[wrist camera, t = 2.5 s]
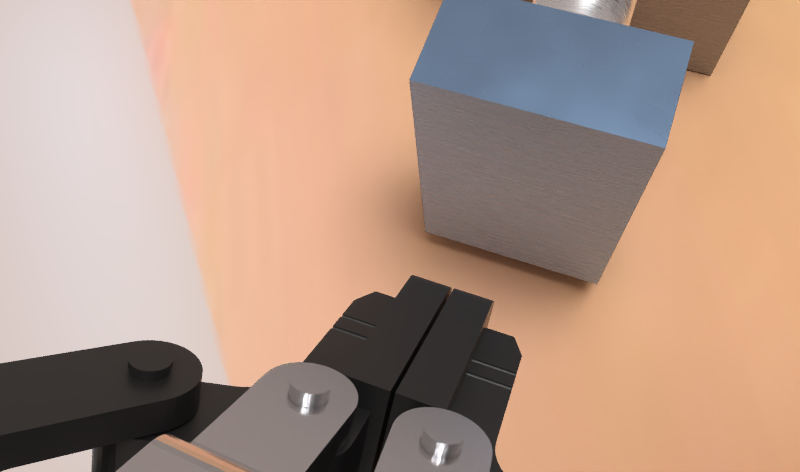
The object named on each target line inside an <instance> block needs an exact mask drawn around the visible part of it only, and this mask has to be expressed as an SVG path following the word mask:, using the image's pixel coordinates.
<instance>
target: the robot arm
mask: <svg viewBox="0 0 800 472" xmlns="http://www.w3.org/2000/svg"><path fill="white" fill-rule="evenodd" d="M451 290H452V288H451V287H448V286H445V285H442V284H439V283H435V282H432V281H429V280H426V279H423V278H420V277H417V276H414V275H412V276H411V277H410V278H409V280H408V281H407V282H406V284H405V285H404V287H403V288H402V289H401V291H400V292H399V294H398V295H397V296H396V298H394V297H391V296H388V295H385V294H382V293H379V292H373V293H371V294H368V295H366V296H363V297H361V298H358V299H356V300H354V301H353V303H352V304H351V305H350V306H349V307H348V309H347V310H346V311H345V312H344V313H343V316H342V317H340V318H339V319H338V321H337V322H336V323H335V324H334V325H333V328H332V329H330V330H329V331H328V333H327V334H326V335H325V336H324V337H323V339H322V340H321V341H320V342H319V343H318V345H317V346H316V347H315V348H314V349H313V351H312V352H311V353H310V354H309V356H308V357H307V358H306V359H305V360H304V362H296V363H288V364H283V365H280V366H277V367H275V368H273V369H271V370H270V371H268V372H267V373H266V374H265V375H264V376H262V377H261V378H260V379H259V380H258V381H257V382H256V383H255V384H254V385H253V386H252V387H235V386H228V385H220V384H213V383H205V382H201V379H202V371H203V369H202V365H201V362H200V361H199V359H198V358H197V357H196V356H195V355H194V354H193V353H192V352H191V351H189V350H187V349H186V348H184V347H181V346H179V345H176V344H173V343H169V342H163V341H153V340H151V341H149V340H148V341H147V340H146V341H135V342H129V343H122V344H116V345H110V346H104V347H99V348H93V349H87V350H80V351H74V352H68V353H62V354H56V355H49V356H43V357H37V358H31V359H25V360H20V361H13V362H8V363H1V364H0V472H1V471H3V470H6V469H10V468H14V467H18V466H22V465H26V464H30V463H35V462H39V461H43V460H47V459H51V458H55V457H60V456H64V455H68V454H72V453H76V452H80V451H84V450H89V449H93V451H92V454H93V455H92V472H503V471H502V470H501V468H500V466H499V464H498V462H497V459H496V455H495V445H496V440H497V437H498V434H499V430H500V427H501V424H502V420H503V417H504V414H505V410H506V407H507V404H508V400H509V397H510V394H511V390H512V387H513V384H514V380H515V377H516V374H517V370H518V367H519V364H520V360H521V357H522V355H521V353H520V350H519V348H518V345H517V343H516V340H515V338H514V337H512V336H509V335H506V334H503V333H500V332H497V331H494V330H491V329H488V328H487V326H488V322H489V319H490V315H491V312H492V308H493V303H494V301H492V300H489V299H485V298H482V297H479V296H476V295H473V294H470V293H467V292H464V291H461V290H458V289H453V291H452V293H451Z"/></svg>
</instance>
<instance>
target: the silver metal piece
mask: <svg viewBox="0 0 800 472" xmlns="http://www.w3.org/2000/svg"><path fill="white" fill-rule="evenodd" d="M636 2H637V0H533V2H532V3H530V2H526V1H522V0H443V2H442V5H441V7H440V9H439V12H438V14H437V16H436V19H435V21H434V23H433V26H432V28H431V31H430V33H429V35H428V38H427V40H426V42H425V45H424V47H423V49H422V52H421V54H420V56H419V59H418V61H417V63H416V66H415V68H414V70H413V73H412V75H411V77H410V90H411V99H412V109H413V118H414V128H415V137H416V147H417V156H418V166H419V175H420V185H421V194H422V204H423V213H424V223H425V232H428V233H431V234H435V235H438V236H441V237H444V238H448V239H451V240H454V241H457V242H461V243H464V244H467V245H470V246H474V247H477V248H480V249H483V250H487V251H490V252H493V253H496V254H500V255H503V256H506V257H509V258H513V259H516V260H519V261H522V262H526V263H529V264H532V265H535V266H539V267H542V268H545V269H548V270H552V271H555V272H558V273H561V274H565V275H568V276H571V277H574V278H577V279H581V280H584V281H587V282H590V283H594V284H597V283H598V281H599V279H600V277H601V275H602V273H603V271H604V269H605V267H606V265H607V263H608V261H609V259H610V257H611V255H612V253H613V251H614V249H615V247H616V245H617V243H618V241H619V239H620V238H621V236H622V234H623V232H624V230H625V228H626V226H627V224H628V222H629V220H630V218H631V216H632V214H633V212H634V210H635V208H636V206H637V204H638V202H639V200H640V198H641V196H642V194H643V192H644V190H645V188H646V186H647V184H648V182H649V180H650V178H651V176H652V174H653V172H654V170H655V168H656V166H657V164H658V162H659V160H660V158H661V156H662V154H663V152H664V150H665V148H666V144H667V140H668V137H669V133H670V129H671V126H672V122H673V118H674V114H675V111H676V107H677V103H678V100H679V96H680V92H681V88H682V85H683V81H684V77H685V73H686V70H687V66H688V62H689V59H690V55H691V51H692V47H693V44H694V41H690V40H686V39H682V38H678V37H674V36H669V35H665V34H661V33H657V32H652V31H648V30H644V29H640V28H636V27H631V26H629V25H630V22H631V18H632V15H633V12H634V9H635V5H636Z"/></svg>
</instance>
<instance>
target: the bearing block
mask: <svg viewBox="0 0 800 472" xmlns="http://www.w3.org/2000/svg"><path fill="white" fill-rule="evenodd" d="M522 1H526V2H530V3H532V2H533V0H522ZM749 1H750V0H637V2H636V5H635V9H634V12H633V15H632V18H631V22H630V25H629V26H631V27H636V28H640V29H644V30H648V31H652V32H657V33H661V34H665V35H669V36H674V37H678V38H682V39H686V40H690V41H694V44H693V47H692V51H691V55H690V59H689V62H688V66H687V70H691V71H695V72H699V73H703V74H707V75H711V74H712V72H713V70H714V68H715V66H716V64H717V62H718V60H719V58H720V56H721V55H722V53H723V51H724V49H725V47H726V45H727V43H728V41H729V39H730V37H731V35H732V33H733V32H734V30H735V28H736V26H737V24H738V22H739V20H740V18H741V16H742V14H743V12H744V10H745V8H746V7H747V5H748V3H749Z"/></svg>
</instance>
